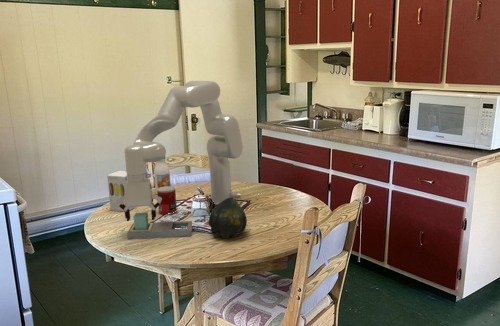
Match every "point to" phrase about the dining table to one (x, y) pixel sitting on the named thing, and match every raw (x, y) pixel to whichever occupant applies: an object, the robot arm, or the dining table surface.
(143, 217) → the peg
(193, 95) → the robot arm
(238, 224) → the squash
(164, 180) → the milk bottle
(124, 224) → the dining table surface
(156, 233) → the grey peg hole board
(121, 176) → the supplement box
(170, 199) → the canned food
